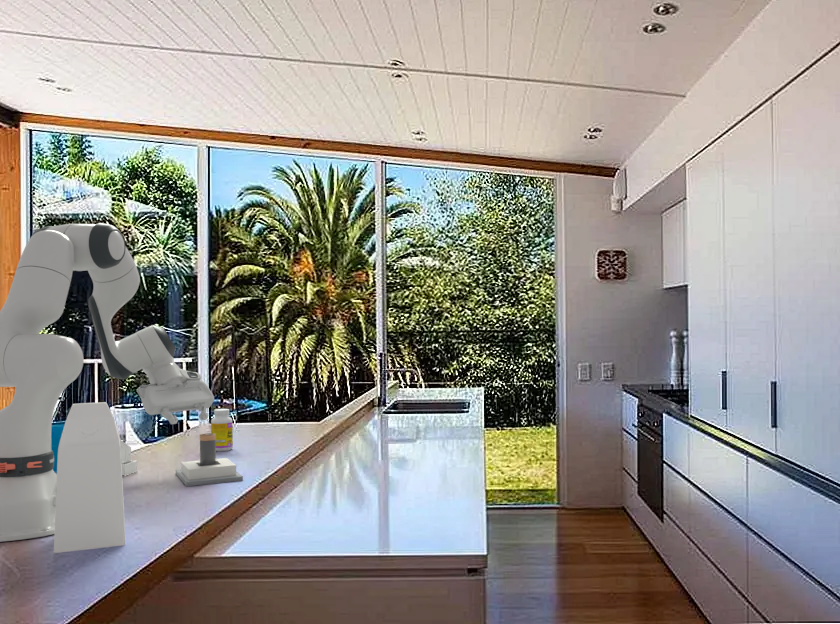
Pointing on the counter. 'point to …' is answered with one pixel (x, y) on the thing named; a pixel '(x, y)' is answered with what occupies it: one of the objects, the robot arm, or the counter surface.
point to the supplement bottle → (222, 429)
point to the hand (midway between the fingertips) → (190, 420)
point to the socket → (208, 472)
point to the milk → (89, 481)
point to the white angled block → (127, 459)
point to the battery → (207, 449)
